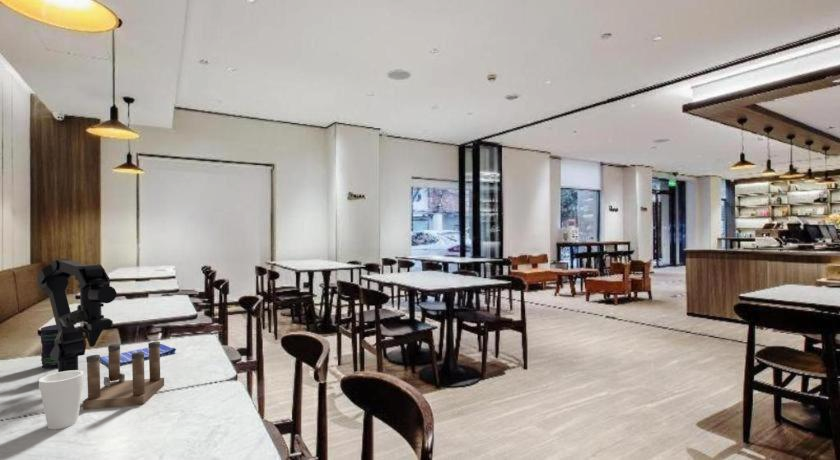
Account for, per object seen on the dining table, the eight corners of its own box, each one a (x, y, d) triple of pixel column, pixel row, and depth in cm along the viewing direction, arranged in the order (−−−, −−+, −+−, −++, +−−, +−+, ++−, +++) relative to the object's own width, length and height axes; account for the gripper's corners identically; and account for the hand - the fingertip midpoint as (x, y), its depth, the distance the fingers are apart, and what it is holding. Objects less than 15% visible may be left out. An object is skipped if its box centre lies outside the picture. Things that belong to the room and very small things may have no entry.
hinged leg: (106, 379, 141) (106, 345, 141) (117, 376, 144) (117, 343, 143) (110, 382, 139) (110, 348, 139) (122, 379, 142) (122, 345, 142)
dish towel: (177, 354, 183) (177, 347, 183) (110, 369, 165) (110, 362, 165) (161, 347, 194) (161, 341, 194) (97, 361, 176) (97, 354, 176)
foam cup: (93, 418, 121) (91, 372, 121) (55, 434, 113) (54, 384, 112) (69, 414, 124) (68, 368, 124) (31, 429, 116) (30, 380, 115)
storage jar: (72, 359, 177) (71, 322, 177) (76, 364, 170) (75, 326, 170) (39, 365, 170) (38, 327, 169) (42, 371, 163) (41, 331, 163)
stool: (80, 409, 127) (78, 359, 127) (109, 388, 144) (108, 343, 144) (143, 404, 131) (142, 354, 130) (165, 384, 147) (164, 340, 147)
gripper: (51, 302, 149) (53, 348, 150) (72, 307, 139) (74, 356, 139) (90, 297, 159) (91, 340, 159) (112, 302, 148) (114, 348, 148)
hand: (92, 346), depth 151 cm, fingers closed
